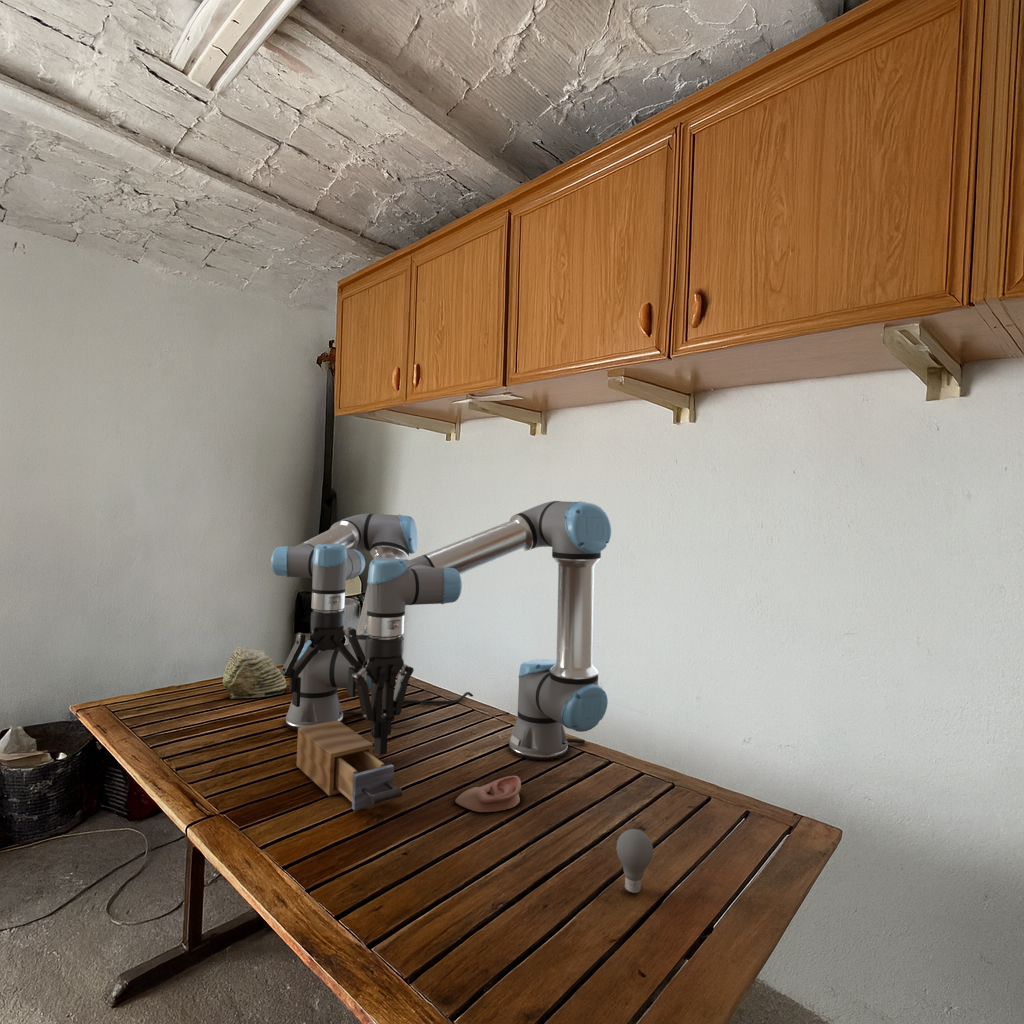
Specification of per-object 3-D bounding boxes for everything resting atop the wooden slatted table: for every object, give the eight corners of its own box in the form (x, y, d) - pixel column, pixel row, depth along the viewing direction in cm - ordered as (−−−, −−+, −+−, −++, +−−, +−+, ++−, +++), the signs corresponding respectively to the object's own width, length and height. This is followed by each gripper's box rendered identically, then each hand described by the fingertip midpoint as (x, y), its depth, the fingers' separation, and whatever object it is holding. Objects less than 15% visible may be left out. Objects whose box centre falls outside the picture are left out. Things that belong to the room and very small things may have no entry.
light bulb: (610, 879, 108) (613, 822, 108) (644, 879, 109) (647, 822, 109) (619, 902, 102) (622, 840, 102) (655, 901, 103) (658, 840, 103)
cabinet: (371, 784, 141) (373, 744, 140) (329, 796, 134) (330, 754, 134) (336, 756, 155) (337, 719, 154) (296, 765, 148) (297, 727, 148)
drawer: (407, 810, 128) (408, 776, 127) (367, 823, 122) (369, 787, 122) (356, 770, 145) (357, 739, 145) (319, 779, 140) (320, 748, 139)
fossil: (218, 695, 195) (220, 647, 195) (278, 685, 208) (279, 640, 207) (228, 703, 189) (230, 653, 188) (289, 692, 201) (290, 645, 201)
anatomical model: (451, 789, 131) (466, 766, 142) (450, 808, 131) (465, 784, 142) (514, 798, 128) (524, 774, 139) (513, 817, 128) (523, 792, 139)
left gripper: (280, 617, 137) (276, 714, 138) (383, 608, 153) (380, 695, 154) (268, 611, 143) (265, 704, 144) (369, 603, 159) (365, 687, 160)
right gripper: (363, 643, 120) (358, 766, 121) (422, 635, 128) (417, 751, 129) (346, 635, 126) (341, 753, 126) (403, 629, 134) (399, 739, 135)
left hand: (324, 700), depth 149 cm, fingers open, 13 cm apart
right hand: (380, 752), depth 128 cm, fingers closed
